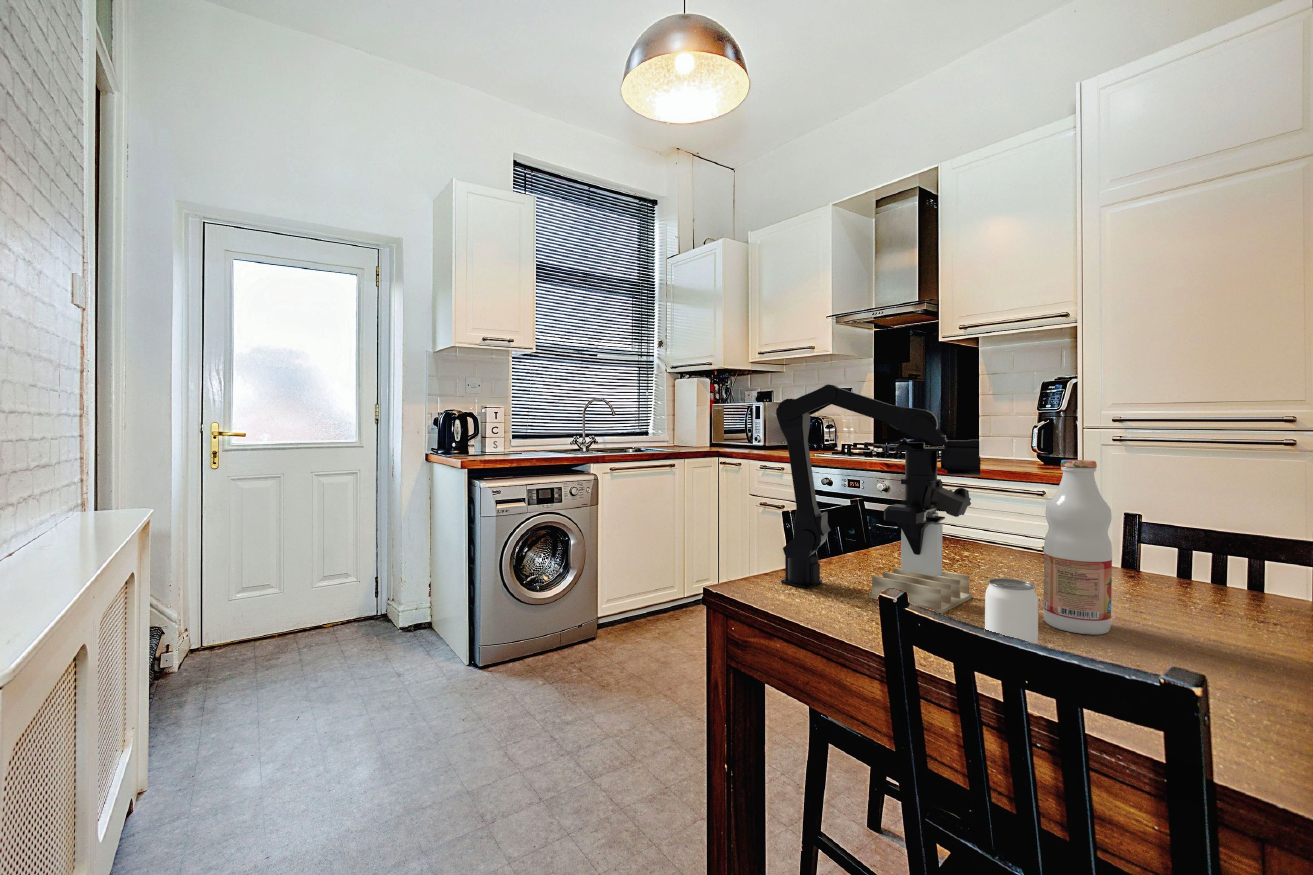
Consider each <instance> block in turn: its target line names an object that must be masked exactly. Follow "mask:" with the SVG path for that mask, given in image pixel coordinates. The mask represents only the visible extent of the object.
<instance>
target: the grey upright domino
mask: <svg viewBox="0 0 1313 875" xmlns="http://www.w3.org/2000/svg"><path fill="white" fill-rule="evenodd" d="M943 525H944V524H943V523H942V522H939V523H936V522H931V523H930V524H929V525H928V526H927V527H926V528H925V529H924V535H923V542H922V548H921V553H920V555H916V554H914V553H913V551H912V549H911V547H910V544H909V542H908V540H907V538H906V536H905V534H904V532H903V531H902V529H901V528H900V531H901V533H900V539H901V540H900V569H901V570H903V571H908V572H913V573H918V574H923V575H928V576H934V577H938V576H940V575H942V571H943Z"/></svg>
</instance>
